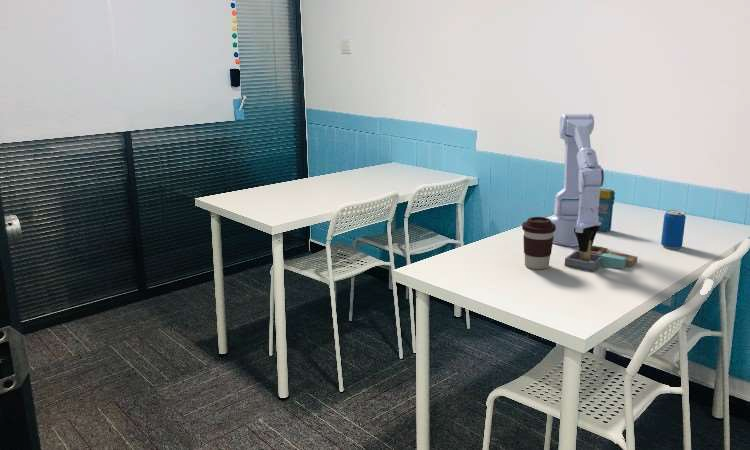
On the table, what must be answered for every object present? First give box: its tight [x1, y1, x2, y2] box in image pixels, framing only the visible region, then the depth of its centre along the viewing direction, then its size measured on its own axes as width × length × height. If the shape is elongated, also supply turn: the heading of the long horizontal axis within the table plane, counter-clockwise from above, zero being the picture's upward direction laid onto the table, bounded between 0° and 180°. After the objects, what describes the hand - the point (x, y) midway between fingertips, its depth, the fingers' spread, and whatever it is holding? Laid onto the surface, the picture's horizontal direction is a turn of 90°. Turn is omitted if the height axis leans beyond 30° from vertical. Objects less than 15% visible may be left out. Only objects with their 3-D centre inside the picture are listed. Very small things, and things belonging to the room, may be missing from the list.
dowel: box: [580, 240, 591, 262], centre depth 202 cm, size 3×3×7 cm
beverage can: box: [660, 209, 686, 250], centre depth 217 cm, size 6×6×12 cm
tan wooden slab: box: [608, 251, 638, 268], centre depth 204 cm, size 8×5×2 cm, turn 49°
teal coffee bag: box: [598, 188, 616, 233], centre depth 236 cm, size 10×4×15 cm, turn 58°
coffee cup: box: [521, 216, 556, 270], centre depth 200 cm, size 10×10×15 cm
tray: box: [564, 250, 602, 272], centre depth 203 cm, size 9×9×2 cm
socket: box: [577, 245, 609, 255], centre depth 210 cm, size 7×7×2 cm
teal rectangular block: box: [600, 253, 627, 270], centre depth 201 cm, size 7×3×3 cm, turn 53°
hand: (585, 249), depth 201 cm, fingers open, 3 cm apart
